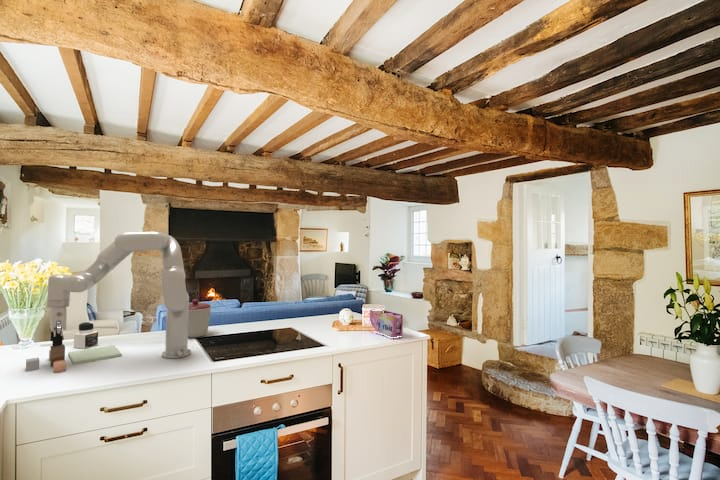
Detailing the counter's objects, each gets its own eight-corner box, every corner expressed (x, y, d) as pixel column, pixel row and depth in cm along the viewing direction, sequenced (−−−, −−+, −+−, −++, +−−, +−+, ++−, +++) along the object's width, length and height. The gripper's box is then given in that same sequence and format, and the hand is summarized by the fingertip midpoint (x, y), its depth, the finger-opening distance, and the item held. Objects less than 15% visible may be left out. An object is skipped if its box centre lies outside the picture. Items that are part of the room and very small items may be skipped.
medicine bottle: (85, 349, 181) (85, 324, 181) (73, 347, 183) (73, 323, 183) (98, 345, 188) (98, 321, 188) (86, 344, 190) (87, 320, 190)
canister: (183, 331, 219) (184, 296, 219) (215, 331, 221) (216, 296, 221) (171, 340, 201) (172, 301, 201) (206, 339, 203) (207, 301, 203)
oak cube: (61, 359, 166) (61, 350, 166) (49, 361, 163) (50, 352, 163) (60, 357, 169) (60, 348, 169) (49, 359, 166) (49, 350, 166)
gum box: (404, 338, 215) (405, 315, 215) (394, 340, 210) (394, 316, 211) (378, 330, 234) (379, 308, 235) (368, 331, 230) (369, 309, 230)
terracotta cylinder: (66, 371, 151) (66, 361, 151) (53, 373, 148) (53, 363, 148) (65, 368, 154) (65, 359, 154) (52, 371, 151) (53, 361, 151)
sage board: (121, 356, 172) (121, 353, 172) (73, 364, 159) (73, 361, 159) (113, 347, 185) (113, 345, 185) (68, 354, 172) (68, 352, 172)
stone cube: (39, 369, 153) (39, 359, 153) (26, 371, 150) (26, 361, 150) (38, 366, 156) (38, 357, 156) (25, 369, 153) (26, 359, 153)
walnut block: (64, 365, 158) (65, 346, 159) (50, 367, 155) (51, 348, 155) (63, 362, 162) (63, 344, 162) (50, 364, 159) (50, 346, 159)
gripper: (71, 305, 155) (69, 346, 155) (67, 299, 167) (65, 337, 167) (48, 307, 150) (46, 349, 150) (45, 301, 162) (43, 340, 162)
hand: (56, 343), depth 158 cm, fingers open, 9 cm apart
